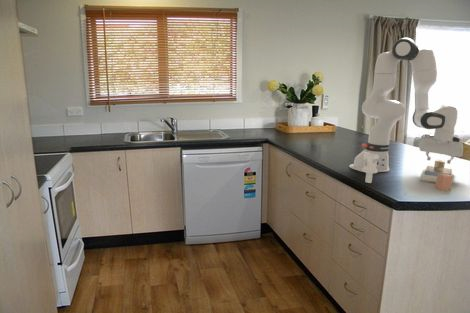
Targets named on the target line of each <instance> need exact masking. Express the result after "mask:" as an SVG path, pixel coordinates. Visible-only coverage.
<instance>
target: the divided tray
mask: <svg viewBox="0 0 470 313" xmlns="http://www.w3.org/2000/svg"><path fill="white" fill-rule="evenodd" d="M438 173H447V174H449V175H451V176H453V178H452V184H451V187H452V186H453V181H454V174H455V169H454V168H448V167H444V171H443V172H436V171H434V165H429V164H428V165H427V164H426V165H424V167H423V169H422V172H421V174H420V178H419V181H420V182H424V183H430V184H436V180H437V174H438Z"/></svg>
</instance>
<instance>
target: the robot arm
mask: <svg viewBox="0 0 470 313" xmlns="http://www.w3.org/2000/svg"><path fill="white" fill-rule="evenodd" d="M391 47H392V48H391V50H390V51H385V52H381V53H380V54H378V55H377V57H376V58H377V59H376V62H375V66H374V75H373V85H372V88H371V92H370V94H369V96H368V97H367V98H366V99H365V100H364V101H363V103H362V105H361V112H362V114H363V115H365V116H366V117H370V118H373V119H377V121H376V124H375V125H374V126H371V127H370V129H369V131H368V139H367V140H368V141H367V142H366V143H362V144H361V146H362V148H364V150H362V151H361V152H360V153H359V154H357V155H356V156H355V158H354V161H353V163H352V164H349V165H348V166H349V168H350V169H352V170H355V171H358V172H362V173H364V172H363V171H362V168H364V164H365V160H364V159H363V158H364V152H369V153H371V154H377V155H379V158H378V159H376V160H377V165H376V169H377V170H378V171H377V173H382V172H383V173H385V172H390V167H389V164H390V163H389V162H390V160H389V156H390V155H389V152H390V146H391V145H390V139H391V133H392V130H393V128H394V126H395V124H396V123H398V121H400V120H401V119H403V117H404V115H405V114H406V113H405V112H406V106H405V105H404V103H402V102H400V101H399V100H398V101H397V100H395V99H387V98H388V95H389V94H390V92H392V91H394V89H395V88H396V82H397V69H398V64H399V62H402V61H407V62H408V61H409V63H410V64H411V72H412V73H411V74H412V82H413V86H414V88H413V89H414V104H415V106H414V112H413V114H412V122H413V124H414V126H416V127H418V128H423V129H426V130H434V134H423V135H421V137H420V142H421V143H420V144H419V145H420V146H419V151H420V152H425V155H426V157H427V158H426V161H429V162H430V161H431V159H432V156H430V155H429V154H430V153H431V154H440V155H445V156H450V159H447V161H446V164H451V162H452V161H453V159H454V158H455V157H459V158H460V157H462V156H463V155H464V145H463V140H464V139H463V137H461V136H458V135H456V134H455V126H456V125H457V120H458V109H457V108H456V107H455V106H450V105H446V104H445V105H444V104H443V105H441V106H439V107H436V108H434V109H431V110H430V108H429V91H430V89H431V88H432V86H433V85H434V84H435V83H436V82H437V76H438V74H437V73H438V72H437V63H436V61H437V60H436V56H435V54H434V51H433V50H432V49H431V48H429V47H420V48H419V46H418V45H416V42H415V40H414V39H412V38H409V37H401V38H399V39H397V40H396V41H395V42H394V43H393V44H392V46H391ZM367 156H368V155H367Z"/></svg>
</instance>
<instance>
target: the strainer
mask: <svg viewBox="0 0 470 313" xmlns="http://www.w3.org/2000/svg"><path fill="white" fill-rule="evenodd" d="M367 155H368V156H367ZM378 158H379V155H377V154H371V153H369V152H364V158H363V159H364V160H365V164H364V168H362V171H363V172H362V173H365V183H368V184H372V181H373V175H374V174H378V172H377V171H378V170H377V169H376V165H377V160H376V159H378Z"/></svg>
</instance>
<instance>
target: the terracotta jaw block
mask: <svg viewBox="0 0 470 313" xmlns="http://www.w3.org/2000/svg"><path fill="white" fill-rule="evenodd" d="M452 178H453V179H454V175H453V176H451V175H449V174H447V173H438V174H437V180H436V183H435V186H434V187H435V188H436V189H437V190H440V191H451V188H452V186H451V184H452V185H453V182H452Z"/></svg>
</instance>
